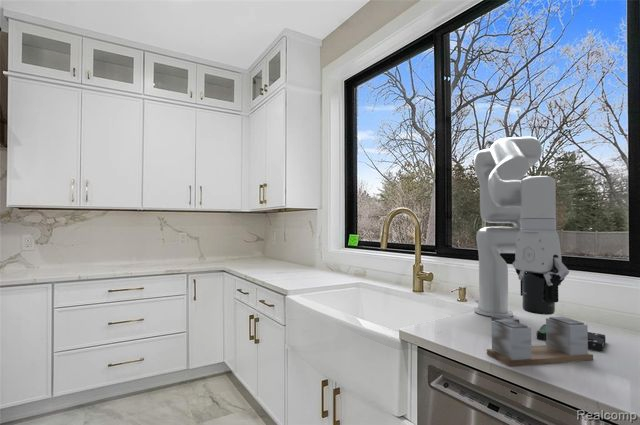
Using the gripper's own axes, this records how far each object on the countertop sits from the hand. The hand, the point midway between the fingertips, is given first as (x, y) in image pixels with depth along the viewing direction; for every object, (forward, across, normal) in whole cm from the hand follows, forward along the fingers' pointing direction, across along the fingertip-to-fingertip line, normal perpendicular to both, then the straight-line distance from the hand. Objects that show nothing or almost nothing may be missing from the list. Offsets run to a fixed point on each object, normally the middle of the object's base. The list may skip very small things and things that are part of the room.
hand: (538, 298), depth 87 cm
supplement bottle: (+3, 0, 0) cm, 3 cm away
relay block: (+14, -17, +5) cm, 23 cm away
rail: (+14, 0, 0) cm, 14 cm away
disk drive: (+15, -9, +19) cm, 26 cm away
